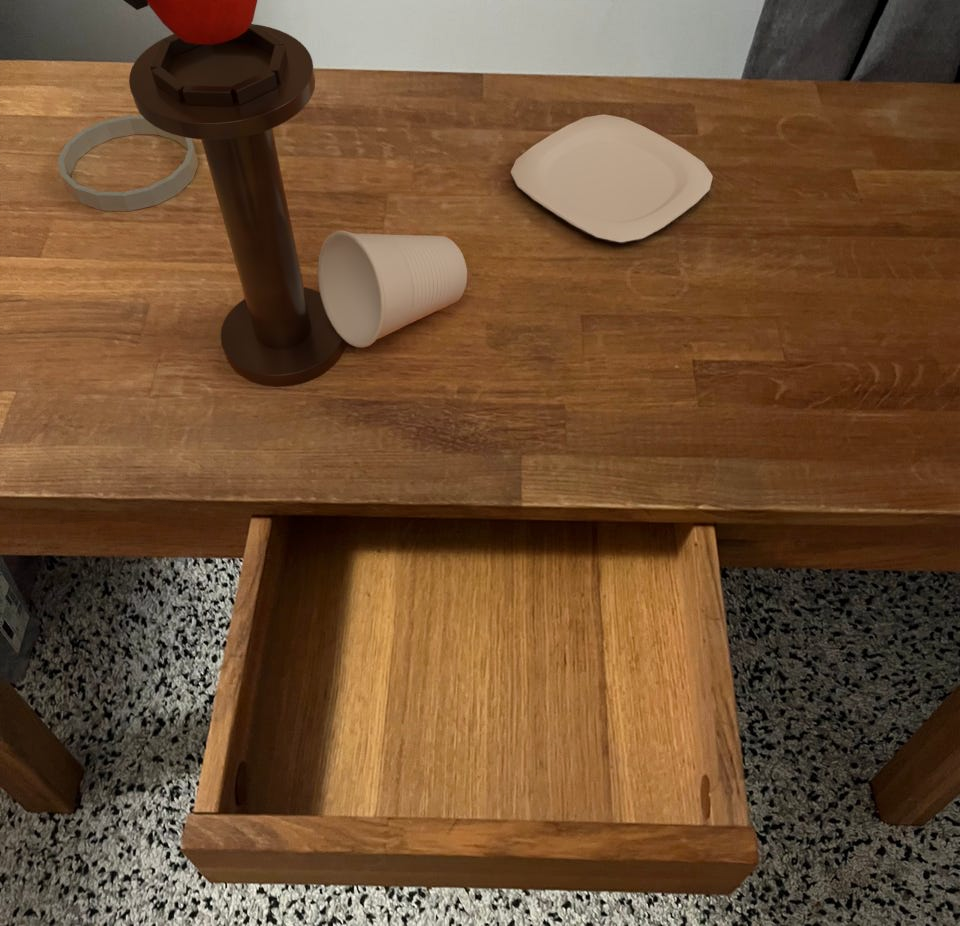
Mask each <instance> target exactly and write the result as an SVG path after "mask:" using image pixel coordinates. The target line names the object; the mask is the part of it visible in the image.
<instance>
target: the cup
mask: <svg viewBox="0 0 960 926" xmlns="http://www.w3.org/2000/svg"><path fill="white" fill-rule="evenodd" d="M318 255H319V256H318V260H317V282H318V285H317V286H318V289H319V290H318V291H319V292H320V296H321V299H322V303H323V306H324V309H325V311H326V314H327V316H328V318H329V320H330V322H331V324H332V326H333V327H334V329H335V330H336V332H337V333H338V334H339V335H340V336H341V337H342V338H343V339H344V340H345V341H346V344H349V345H351V346H353V347H355V348H362V349H363V348H366V347H367V348H368V347H370V346H371V345H372V344H374V343H375V342H376V341H377V340H379V339H381V338H383V337H386V336H387V335H389V334H392V333H393V332H396V331H398V330H400V329H402V328H404V327H406V326H408V325H410V324H412V323H414V322H417V321H418V320H421V319H422V318H425V317H427V316H429V315H431V314H433V313H435V312H438V311H440V310H442V309H444V308H447V307H449V306H451V305H453V304H455V303H457V302H459V300H460V299H461V298H462V297H463V295H464V293H465V291H466V287H467V283H468V269H467V268H468V267H467V263H466V260H465V257H464V255H463V252H462V251H461V248H460V247H458V245H457V244H456V243H455V242H454V241H453V240H452V239H451V238H450V237H449V238H448V237H447V236H444V235H425V234H424V235H419V234H418V235H416V234H415V235H414V234H413V235H412V234H384V233H383V234H381V233H357V232H356V233H353V232H350V231H346V230H336V231H334V232H331V233H330V234H329V235H328V236H327V237H326V238H325V239H324V241H323V243H322V244H321V248H320V250H319V254H318Z"/></svg>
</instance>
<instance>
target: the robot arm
mask: <svg viewBox="0 0 960 926" xmlns="http://www.w3.org/2000/svg"><path fill="white" fill-rule="evenodd" d="M123 1H124V3H126V4H127V5H129V6H130V7H132V8H133V9H134V10H136V11H139V10H141V9H144V8H147V7H149V5H148V2H147V0H123Z"/></svg>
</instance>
